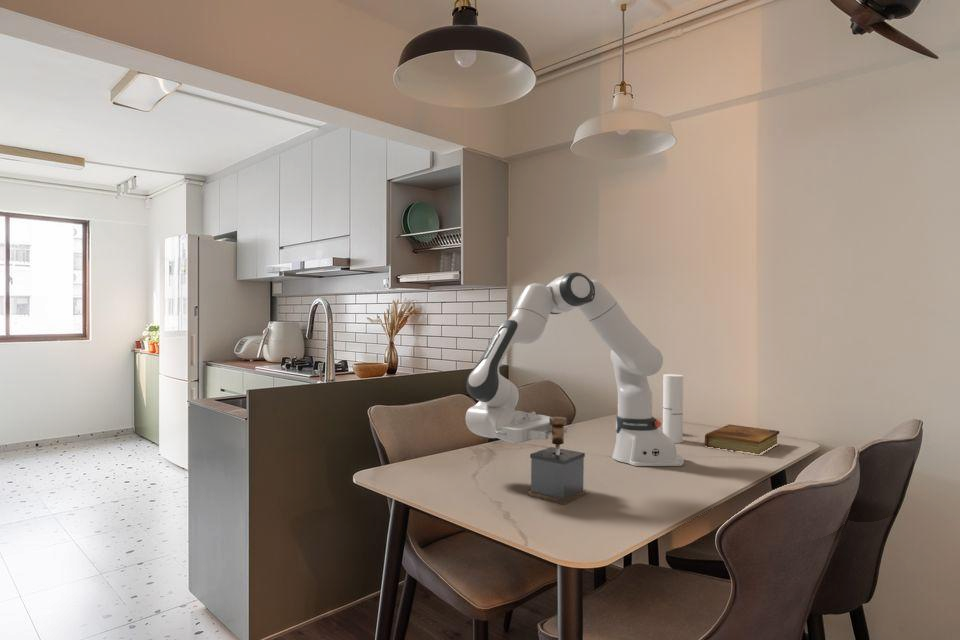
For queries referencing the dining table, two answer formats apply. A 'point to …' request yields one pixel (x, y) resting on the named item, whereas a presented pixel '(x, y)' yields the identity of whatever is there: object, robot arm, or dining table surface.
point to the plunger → (557, 432)
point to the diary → (741, 438)
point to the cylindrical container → (673, 407)
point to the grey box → (557, 475)
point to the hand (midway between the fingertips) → (556, 433)
